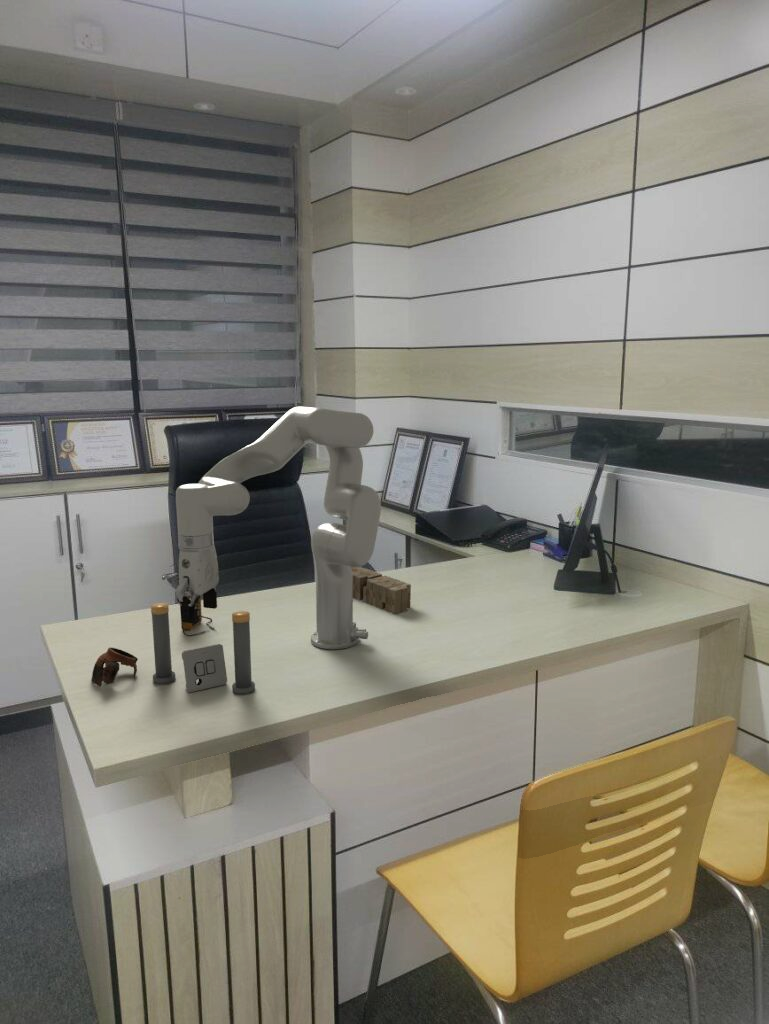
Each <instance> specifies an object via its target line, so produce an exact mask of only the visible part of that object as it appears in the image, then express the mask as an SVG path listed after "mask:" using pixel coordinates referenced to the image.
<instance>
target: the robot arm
mask: <svg viewBox="0 0 769 1024" xmlns="http://www.w3.org/2000/svg"><path fill="white" fill-rule="evenodd" d="M373 436H374V424H373V422H372V421H371V419H370V418H369V417H368V416H367V415H365V414H364V413H361V412H354V411H353V412H352V411H342V410H334V409H328V408H323V407H314V406H313V407H311V406H302V405H301V406H295V407H292V408H291V409H289V410H287V412H285V414H283V415H282V416H281V417H280V418H279V419H278V420H277V421H276V422H275V423H273V425H272V426H271V427H270V428H268V430H266V431H265V432H264V433H263V434H262V435H261V436H260V437H259V438H257V439H256V440H255V441H254V442H252V443H251V444H248V445H246V446H245V447H242V448H241V449H239V450H237V451H236V452H233V453H232V454H230V455H228V456H226V457H224V458H222V459H221V460H220V461H219V462H218V463H216V464H215V465H213V467H212V468H210V469H209V470H208V472H206V473H205V474H204V475H203V476H202V477H201V478H200V480H199V481H198V483H187V484H186V483H185V484H181V485H179V486H178V487H177V488H176V490H175V504H176V505H175V507H176V508H175V509H176V524H177V540H178V541H177V542H178V543H177V545H178V549H179V553H178V555H179V556H178V565H179V586H178V585H177V588H176V589H175V595H176V597H177V599H176V600H177V602H178V605H179V607H180V606H181V612H180V621H181V620H182V622H185V623H195V622H196V612H195V605H193V603H194V600H195V597H196V594H197V595H201V596H202V604H203V608H206V609H212V610H213V609H214V610H215V609H217V608H218V601H217V600H218V598H217V597H218V595H217V590H218V584H219V581H220V576H219V571H220V569H219V563H218V557H217V551H216V547H215V541H214V539H215V538H214V519H213V517H215V516H217V517H218V516H235V515H238V514H241V513H243V512H244V511H245V510H246V509H247V507H249V504H250V500H251V498H250V493H249V490H248V489H247V488H246V486H244V485H243V484H242V483H243V482H244V481H247V480H249V479H251V478H254V477H257V476H262V475H266V474H270V473H271V474H272V473H274V472H276V471H279V470H281V469H282V468H283V467H284V466H285V465H286V464H287V463H288V462H289V461H291V459H292V458H293V457H294V456H295V455H296V454H297V453H298V452H299V451H300V450H301V449H302V448H303V447H304V446H306V445H307V444H312V445H318V446H319V445H320V446H325V448H326V450H327V453H328V457H329V469H328V476H327V481H326V487H325V493H324V498H323V499H324V500H323V507H324V511H325V512H326V513H327V514H328V515H329V516H331V517H333V518H336V519H340V520H343V521H347V524H346V525H344V524H343V523H342V524H341V523H337V522H324V523H322V524H320V525H318V526H317V527H316V528H315V529H314V531H313V533H312V536H311V543H310V545H311V551H312V557H313V563H314V568H315V569H314V570H315V609H316V613H315V614H316V615H315V617H316V631H315V632H313V633H312V634H311V636H310V642H311V644H312V645H314V646H315V647H317V648H320V649H323V650H326V649H327V650H341V649H342V650H343V649H347V648H351V647H353V646H355V645H357V644H358V642H359V640H361V639H362V640H368V638H369V632H368V631H367V629H366V628H358V627H357V622H354V618H353V617H354V615H353V612H354V611H353V610H354V609H353V608H354V606H353V602H354V601H353V599H354V598H353V576H352V570H351V567H362V568H363V566H365V565H367V564H368V563H369V561H370V560H371V558H372V556H373V554H374V550H375V547H376V542H377V541H376V540H377V535H378V530H379V526H380V525H379V524H380V519H381V512H382V505H381V504H382V503H381V498H380V496H379V494H378V492H377V490H375V489H374V488H372V487H370V486H368V485H364V484H362V478H363V469H364V468H363V467H364V460H363V454H362V451H361V449H360V448H363V447H365V446H367V445H368V444H369V443H370V442H371V440H373V439H372V438H373ZM191 590H192V591H191ZM186 595H189V596H190V600H189V599H188V598H187V597H186Z"/></svg>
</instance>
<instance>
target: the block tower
mask: <svg viewBox="0 0 769 1024" xmlns="http://www.w3.org/2000/svg"><path fill="white" fill-rule="evenodd" d="M351 570H352V576H353V599H355V600H357V601H359V602H360V601H363V603H366V604H368V605H370V606H373V607H375V608H378V609H380V610H385V612H388V613H391V614H392V615H397V614H402V613H404V612H408V609H410V608H411V597H412V596H411V590H412V589H411V588H412V585H411V584H410V583H407V582H405V581H403V580H400V579H397V578H393V577H391V576H387V575H383V574H382V573H379V572H377V571H374V570H372V569H368V568H365V567H363V566H362V567H351Z"/></svg>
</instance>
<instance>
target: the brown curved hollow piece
mask: <svg viewBox="0 0 769 1024" xmlns="http://www.w3.org/2000/svg"><path fill="white" fill-rule="evenodd" d="M138 660H139V659H138V657H136V656H135V655H134V654H131V653H129V652H127V651H125V650H122V649H120V648H115V647H108V648H107V650H106V652H104V653H103V654H100V655H99V656H98V658H97V659H96V661H95V663H94V666H93V669H92V671H91V672H92V674H91V675H92V676H91V682H92V683H93V684H94V685H97V686H98V687H102V686H103V683H104V684H106V685H110V684H111V685H112V684H114V683H115V680H116V676H117V675H118V673H119V670H120V665H121V666H126V667H131V668H133V674H132V677H133V678H135V677H136V675H137V672H138V667H137V666H138V665H137V661H138Z"/></svg>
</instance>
